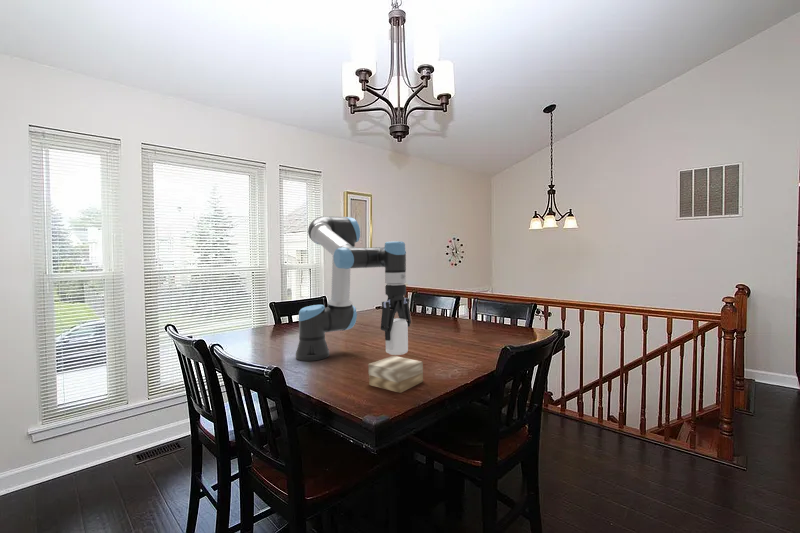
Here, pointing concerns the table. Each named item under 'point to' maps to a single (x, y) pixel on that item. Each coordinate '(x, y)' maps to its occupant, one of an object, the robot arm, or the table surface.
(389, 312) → the robot arm
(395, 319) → the beverage can
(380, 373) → the top slab
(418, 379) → the bottom slab
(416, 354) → the table surface
